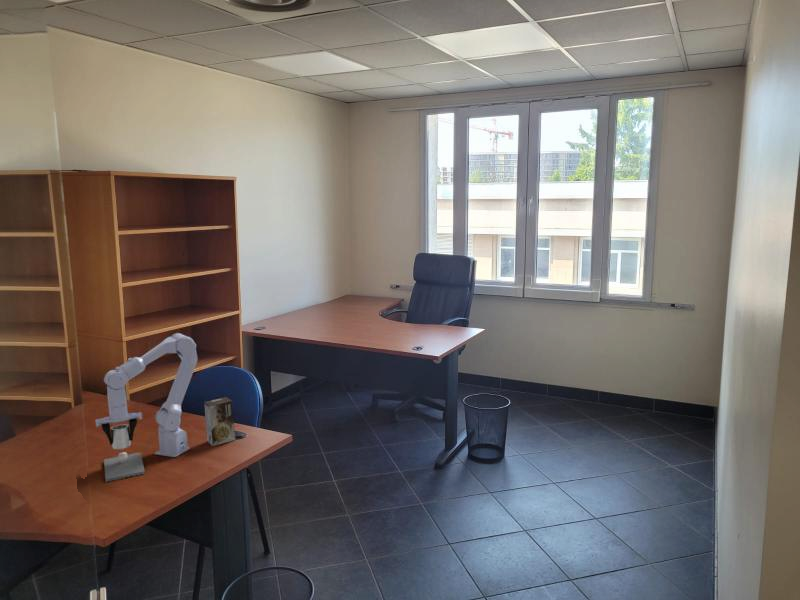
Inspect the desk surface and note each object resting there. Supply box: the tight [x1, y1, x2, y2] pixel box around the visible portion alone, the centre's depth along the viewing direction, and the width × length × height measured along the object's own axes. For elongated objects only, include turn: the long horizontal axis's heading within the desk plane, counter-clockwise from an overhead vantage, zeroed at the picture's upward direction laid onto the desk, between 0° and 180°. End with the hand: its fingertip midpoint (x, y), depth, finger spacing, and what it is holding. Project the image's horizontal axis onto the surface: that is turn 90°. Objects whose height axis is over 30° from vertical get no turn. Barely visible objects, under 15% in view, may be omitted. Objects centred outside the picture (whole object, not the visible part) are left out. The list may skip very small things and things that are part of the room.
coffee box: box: [203, 396, 236, 447], centre depth 224 cm, size 9×6×16 cm
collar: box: [110, 423, 132, 450], centre depth 204 cm, size 6×6×7 cm
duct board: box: [103, 451, 146, 483], centre depth 203 cm, size 12×18×4 cm, turn 28°
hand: (121, 441), depth 204 cm, fingers closed on collar, 6 cm apart
